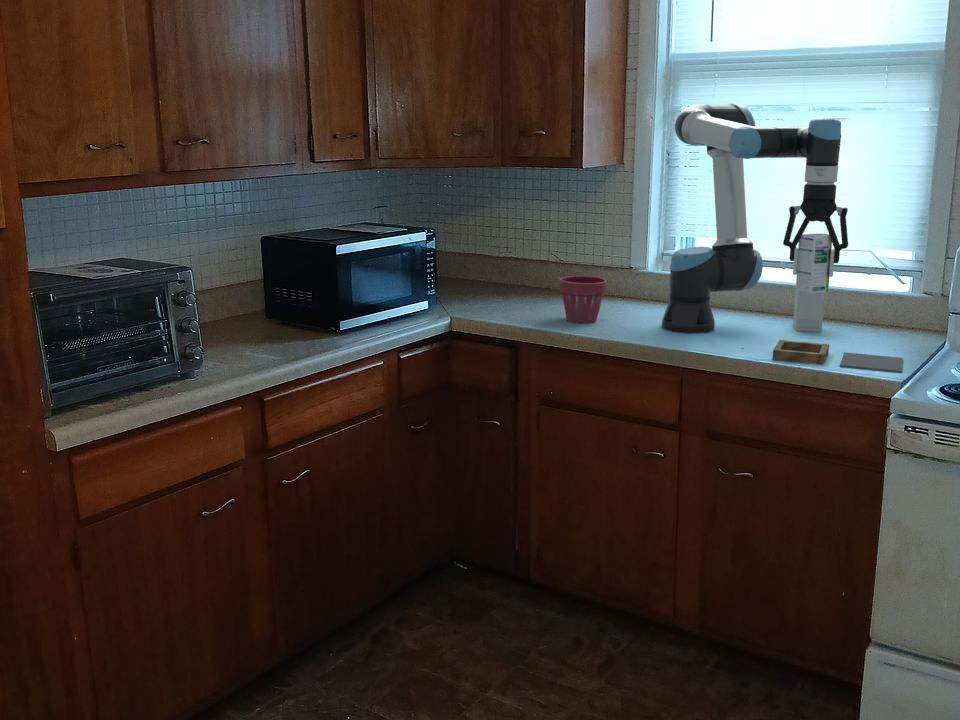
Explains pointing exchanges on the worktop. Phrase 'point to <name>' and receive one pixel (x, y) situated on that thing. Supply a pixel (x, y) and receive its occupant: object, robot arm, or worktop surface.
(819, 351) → the walnut collar
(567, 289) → the plant pot
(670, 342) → the worktop surface
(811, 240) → the syrup box
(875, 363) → the charcoal mat
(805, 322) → the supplement box
